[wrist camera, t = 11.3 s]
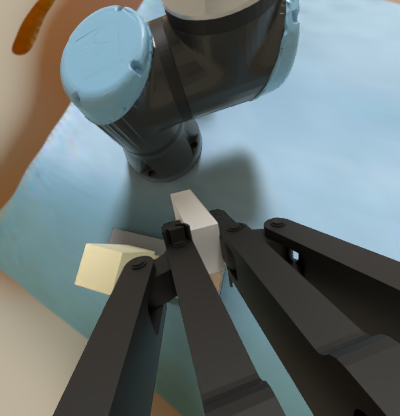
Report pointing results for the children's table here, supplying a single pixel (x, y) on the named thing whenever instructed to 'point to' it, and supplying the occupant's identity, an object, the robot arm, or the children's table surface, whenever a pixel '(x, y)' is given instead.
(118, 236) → the rod bead slider
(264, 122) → the children's table surface
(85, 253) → the pale yellow block
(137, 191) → the children's table surface
